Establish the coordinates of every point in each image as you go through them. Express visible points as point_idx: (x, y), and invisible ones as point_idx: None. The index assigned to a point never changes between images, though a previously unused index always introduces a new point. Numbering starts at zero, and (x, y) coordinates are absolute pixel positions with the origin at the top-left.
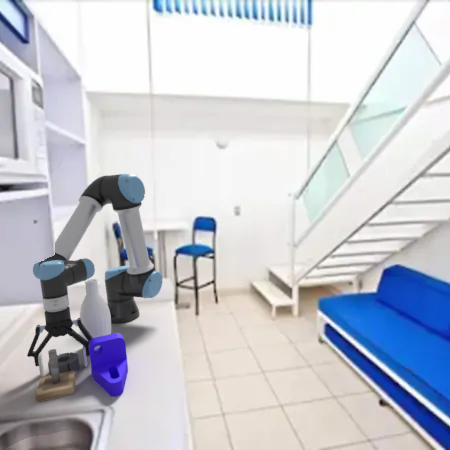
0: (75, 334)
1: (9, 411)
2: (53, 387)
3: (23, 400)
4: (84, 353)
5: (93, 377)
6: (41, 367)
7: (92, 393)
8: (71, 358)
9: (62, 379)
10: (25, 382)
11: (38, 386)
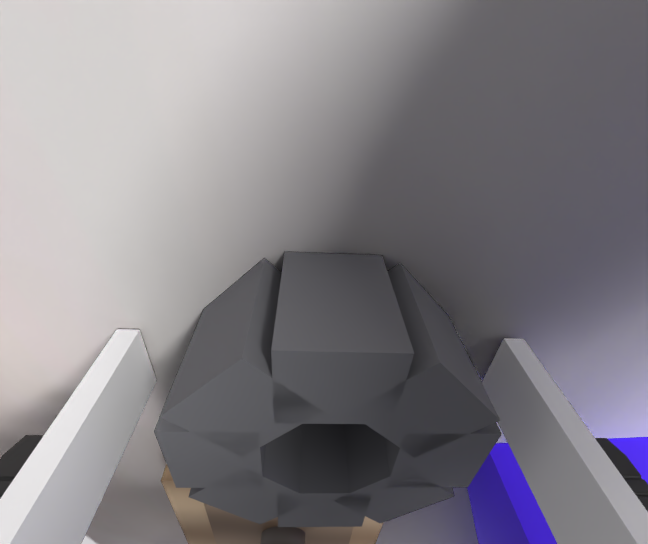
0: None
1: (110, 539)
2: None
3: (138, 510)
4: (557, 520)
5: (474, 511)
6: (117, 460)
7: (430, 540)
8: (411, 479)
9: (317, 530)
10: (41, 392)
11: (188, 537)
